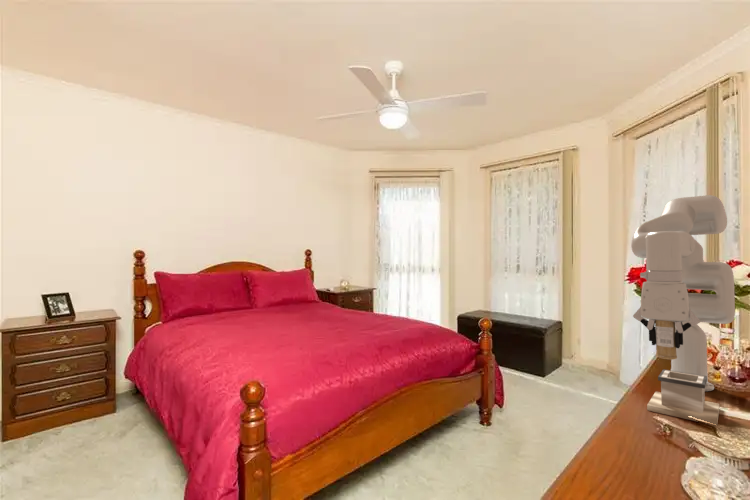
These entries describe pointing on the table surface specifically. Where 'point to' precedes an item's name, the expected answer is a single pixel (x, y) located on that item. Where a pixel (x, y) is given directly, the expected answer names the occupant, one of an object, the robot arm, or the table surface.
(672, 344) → the sprinkles bottle
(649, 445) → the table surface
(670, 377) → the silver stepped pedestal
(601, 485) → the table surface
